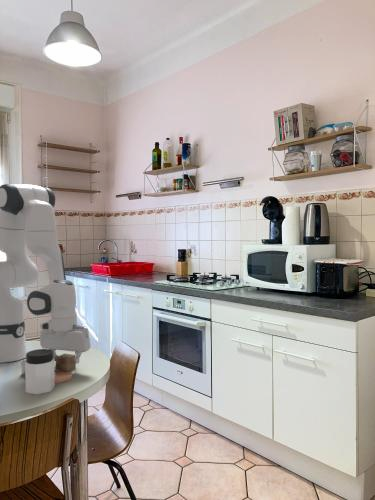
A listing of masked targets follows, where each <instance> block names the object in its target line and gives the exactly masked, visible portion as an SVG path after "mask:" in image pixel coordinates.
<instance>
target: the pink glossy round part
mask: <svg viewBox="0 0 375 500" xmlns="http://www.w3.org/2000/svg"><path fill="white" fill-rule="evenodd" d="M54 373H55V384H61V383H65V382H68V381H70V380H72V378H73V374H72V373H71V372H62V371H56V372H54Z"/></svg>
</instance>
